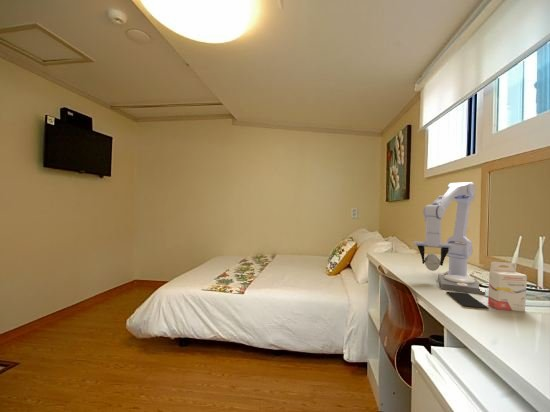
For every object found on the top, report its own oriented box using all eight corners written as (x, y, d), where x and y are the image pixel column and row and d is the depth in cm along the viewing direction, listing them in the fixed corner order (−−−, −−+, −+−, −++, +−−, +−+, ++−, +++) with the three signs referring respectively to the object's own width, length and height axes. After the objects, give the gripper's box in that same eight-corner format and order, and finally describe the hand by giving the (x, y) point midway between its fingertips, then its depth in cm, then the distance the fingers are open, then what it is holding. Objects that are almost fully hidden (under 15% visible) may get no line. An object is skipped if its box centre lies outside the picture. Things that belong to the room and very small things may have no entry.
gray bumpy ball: (434, 269, 123) (437, 254, 123) (442, 273, 116) (445, 257, 116) (420, 267, 123) (422, 251, 123) (427, 271, 117) (429, 254, 116)
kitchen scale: (437, 278, 125) (438, 272, 125) (475, 283, 119) (475, 276, 119) (442, 288, 111) (442, 281, 111) (485, 294, 105) (485, 287, 105)
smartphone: (464, 306, 91) (445, 291, 105) (464, 309, 91) (445, 294, 105) (489, 308, 89) (467, 292, 104) (489, 311, 89) (467, 295, 104)
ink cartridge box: (497, 310, 90) (499, 264, 89) (487, 304, 95) (488, 261, 94) (526, 311, 89) (528, 265, 89) (514, 305, 94) (516, 262, 94)
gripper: (414, 232, 119) (413, 264, 119) (454, 234, 112) (453, 268, 113) (414, 230, 125) (413, 260, 125) (452, 233, 119) (451, 264, 119)
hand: (432, 264), depth 119 cm, fingers closed on gray bumpy ball, 6 cm apart
